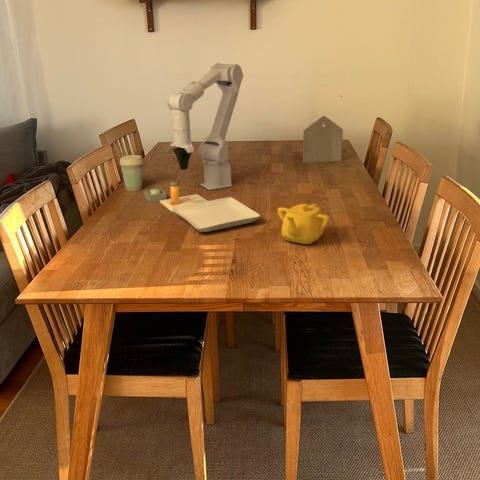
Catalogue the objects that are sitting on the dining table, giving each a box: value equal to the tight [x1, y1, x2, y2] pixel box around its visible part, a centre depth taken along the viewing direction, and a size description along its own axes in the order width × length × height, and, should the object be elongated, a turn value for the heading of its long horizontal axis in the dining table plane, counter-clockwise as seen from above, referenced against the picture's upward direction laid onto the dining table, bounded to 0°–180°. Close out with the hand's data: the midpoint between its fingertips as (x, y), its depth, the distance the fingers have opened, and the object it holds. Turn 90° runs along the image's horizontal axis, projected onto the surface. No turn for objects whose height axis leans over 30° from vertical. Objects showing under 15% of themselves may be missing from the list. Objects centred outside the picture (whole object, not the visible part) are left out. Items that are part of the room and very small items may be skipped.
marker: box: [169, 180, 181, 205], centre depth 191 cm, size 3×3×7 cm
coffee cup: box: [119, 154, 144, 193], centre depth 209 cm, size 8×8×12 cm
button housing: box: [143, 188, 168, 203], centre depth 199 cm, size 6×6×2 cm
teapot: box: [277, 203, 331, 245], centre depth 161 cm, size 14×13×10 cm
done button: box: [149, 187, 161, 195], centre depth 199 cm, size 3×3×3 cm
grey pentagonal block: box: [302, 115, 344, 164], centre depth 241 cm, size 16×8×19 cm, turn 94°
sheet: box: [159, 193, 208, 213], centre depth 194 cm, size 14×12×1 cm
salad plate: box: [173, 196, 261, 233], centre depth 178 cm, size 21×21×3 cm
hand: (183, 169), depth 198 cm, fingers closed
